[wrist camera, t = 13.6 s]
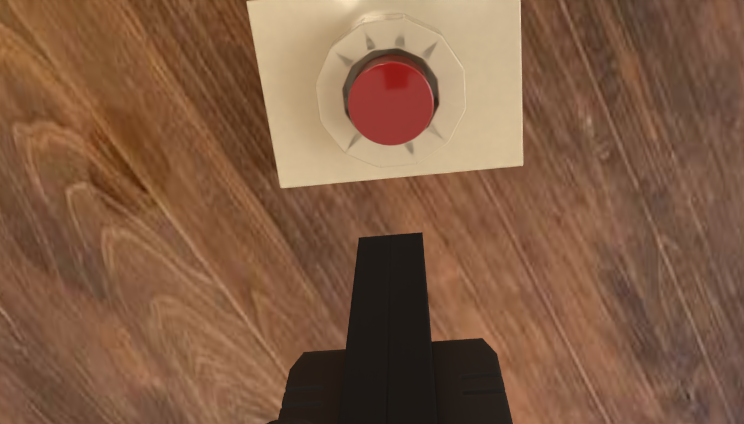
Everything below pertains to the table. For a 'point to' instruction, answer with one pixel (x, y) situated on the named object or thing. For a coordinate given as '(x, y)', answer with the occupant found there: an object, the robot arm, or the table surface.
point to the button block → (380, 37)
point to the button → (390, 100)
